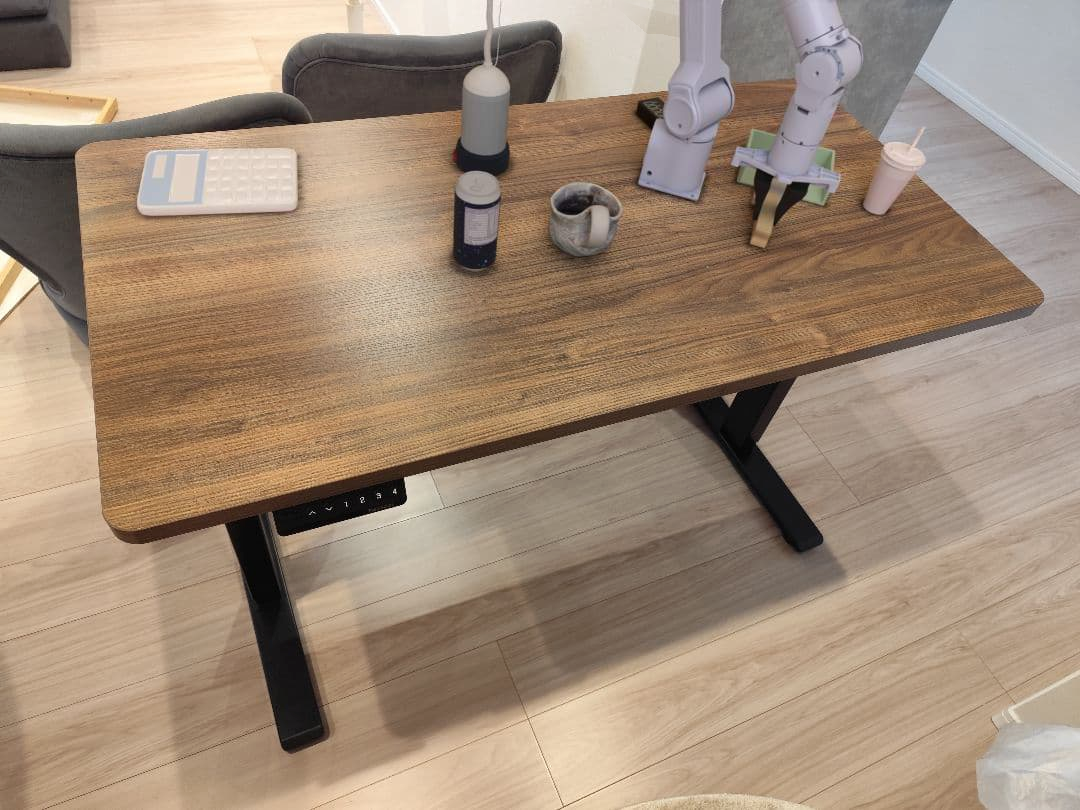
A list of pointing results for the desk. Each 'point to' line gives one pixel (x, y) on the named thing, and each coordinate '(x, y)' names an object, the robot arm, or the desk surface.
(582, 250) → the mug
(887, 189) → the smoothie
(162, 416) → the desk surface
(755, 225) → the fork
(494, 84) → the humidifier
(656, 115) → the multiport hub
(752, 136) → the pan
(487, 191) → the beverage can
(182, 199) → the calculator
